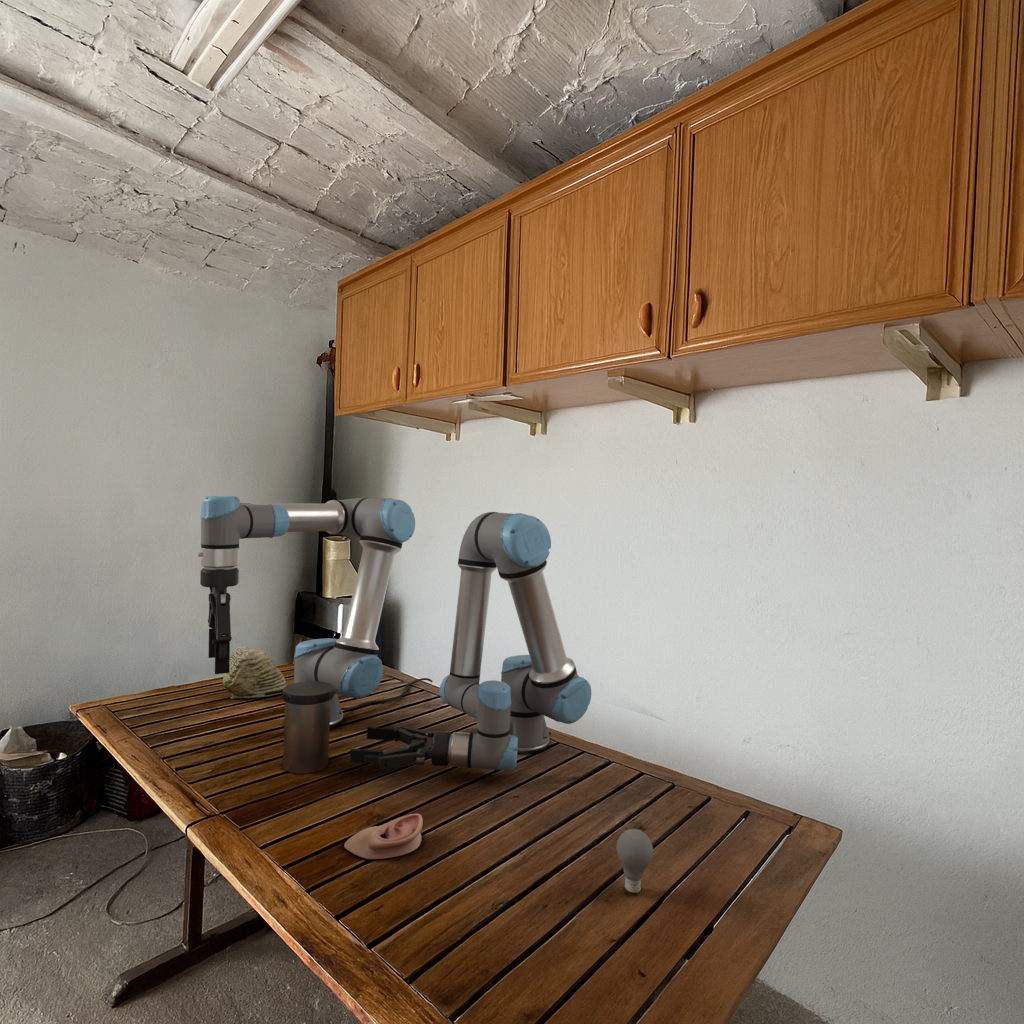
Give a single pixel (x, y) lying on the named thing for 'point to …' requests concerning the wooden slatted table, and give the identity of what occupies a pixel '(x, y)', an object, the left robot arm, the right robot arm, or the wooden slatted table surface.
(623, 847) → the light bulb
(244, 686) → the fossil
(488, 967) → the wooden slatted table surface
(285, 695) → the lid
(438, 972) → the wooden slatted table surface
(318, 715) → the jar
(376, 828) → the anatomical model
